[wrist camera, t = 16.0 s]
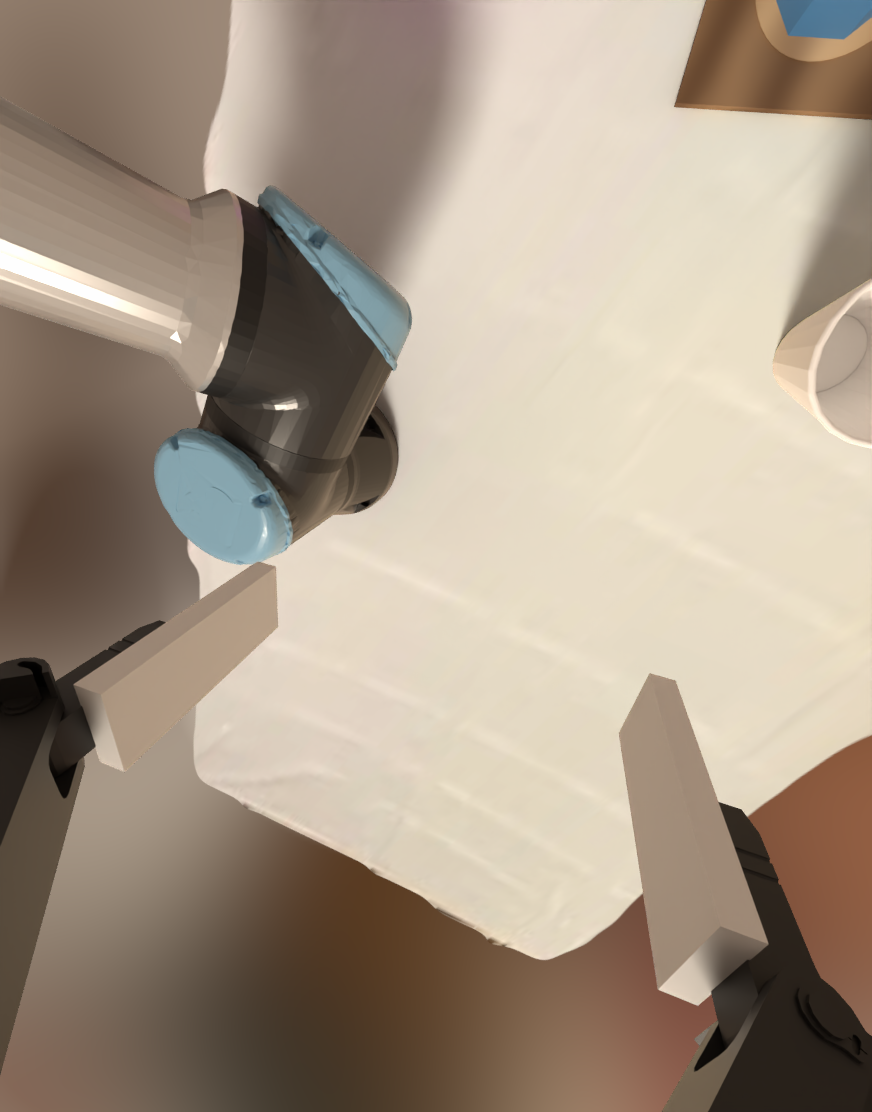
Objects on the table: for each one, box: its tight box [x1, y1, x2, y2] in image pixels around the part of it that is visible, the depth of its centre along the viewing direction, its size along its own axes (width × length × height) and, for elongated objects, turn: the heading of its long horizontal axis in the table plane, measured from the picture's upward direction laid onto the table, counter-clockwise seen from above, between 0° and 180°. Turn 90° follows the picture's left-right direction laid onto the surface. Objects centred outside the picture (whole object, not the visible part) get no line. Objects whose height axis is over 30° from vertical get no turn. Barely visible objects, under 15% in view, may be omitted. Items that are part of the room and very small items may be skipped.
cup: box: [773, 278, 872, 449], centre depth 31 cm, size 12×12×12 cm
